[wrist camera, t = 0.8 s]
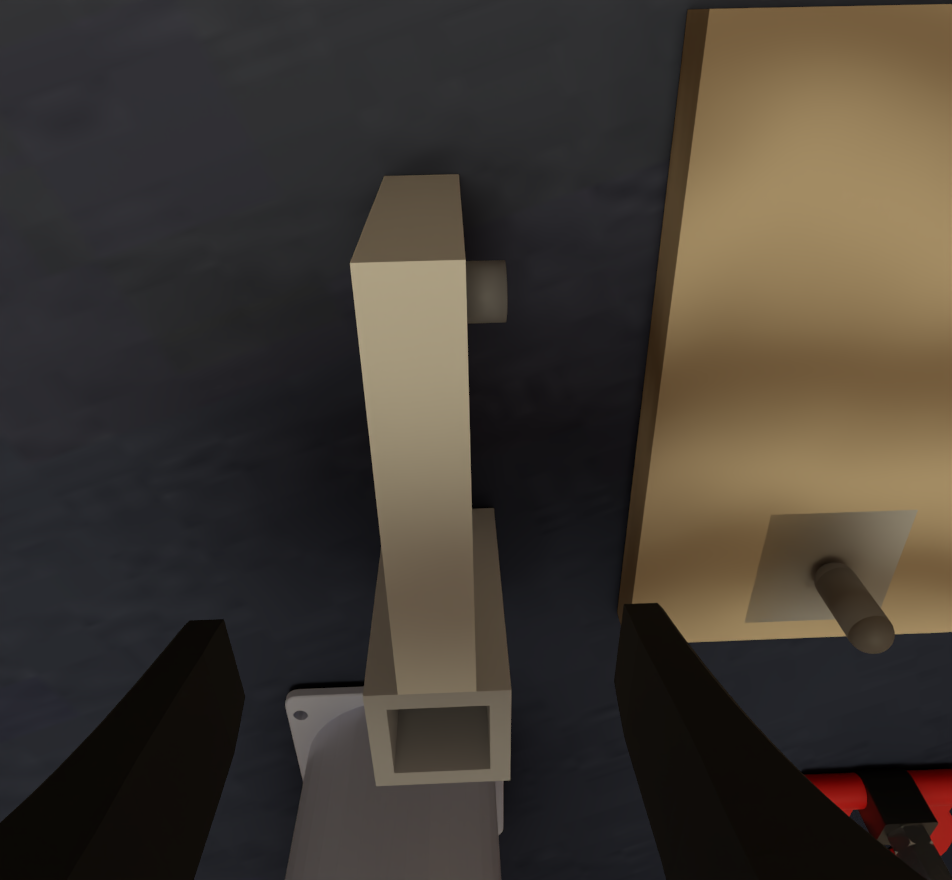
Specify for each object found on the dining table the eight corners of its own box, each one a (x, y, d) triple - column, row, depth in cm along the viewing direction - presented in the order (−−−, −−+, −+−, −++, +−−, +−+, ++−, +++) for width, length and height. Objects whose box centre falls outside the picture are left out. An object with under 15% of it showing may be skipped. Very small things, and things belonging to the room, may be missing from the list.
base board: (954, 599, 25) (1052, 711, 21) (616, 612, 25) (650, 728, 21) (1224, -2, 16) (1493, -8, 12) (687, 9, 15) (772, 6, 11)
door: (494, 588, 24) (510, 780, 18) (393, 592, 24) (375, 786, 18) (491, 173, 17) (516, 258, 11) (350, 177, 17) (298, 264, 11)
